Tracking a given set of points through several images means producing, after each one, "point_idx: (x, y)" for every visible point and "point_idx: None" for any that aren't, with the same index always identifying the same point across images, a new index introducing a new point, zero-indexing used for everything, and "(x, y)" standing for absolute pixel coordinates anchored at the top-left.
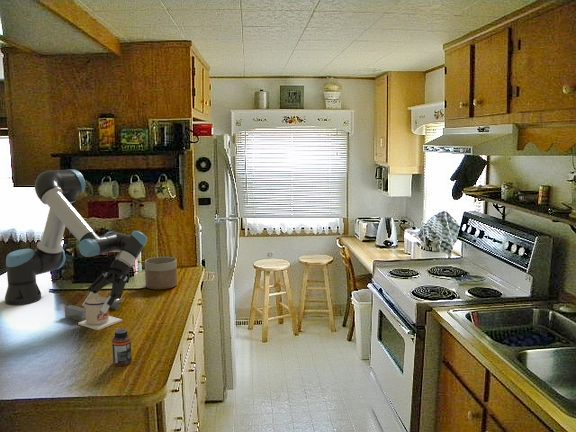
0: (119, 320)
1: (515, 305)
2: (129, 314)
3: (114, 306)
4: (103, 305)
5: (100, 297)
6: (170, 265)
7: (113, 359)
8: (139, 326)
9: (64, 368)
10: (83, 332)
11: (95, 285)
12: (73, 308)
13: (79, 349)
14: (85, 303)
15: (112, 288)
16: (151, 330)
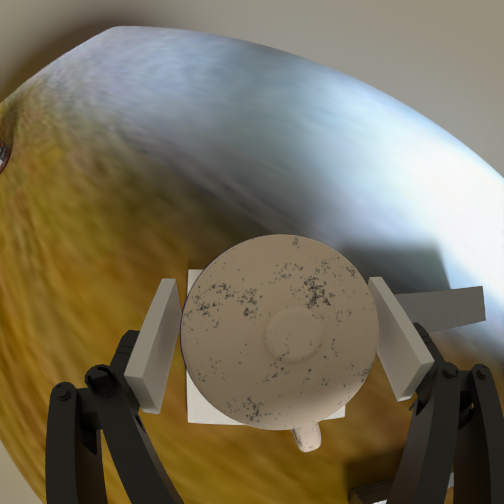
0: (188, 407)
1: None
2: (241, 493)
3: (366, 493)
4: (159, 303)
5: (235, 341)
6: None
7: (2, 141)
8: None
9: (87, 83)
10: (226, 221)
11: (457, 422)
12: (444, 298)
13: (116, 133)
14: (309, 238)
15: (144, 467)
16: (22, 373)
